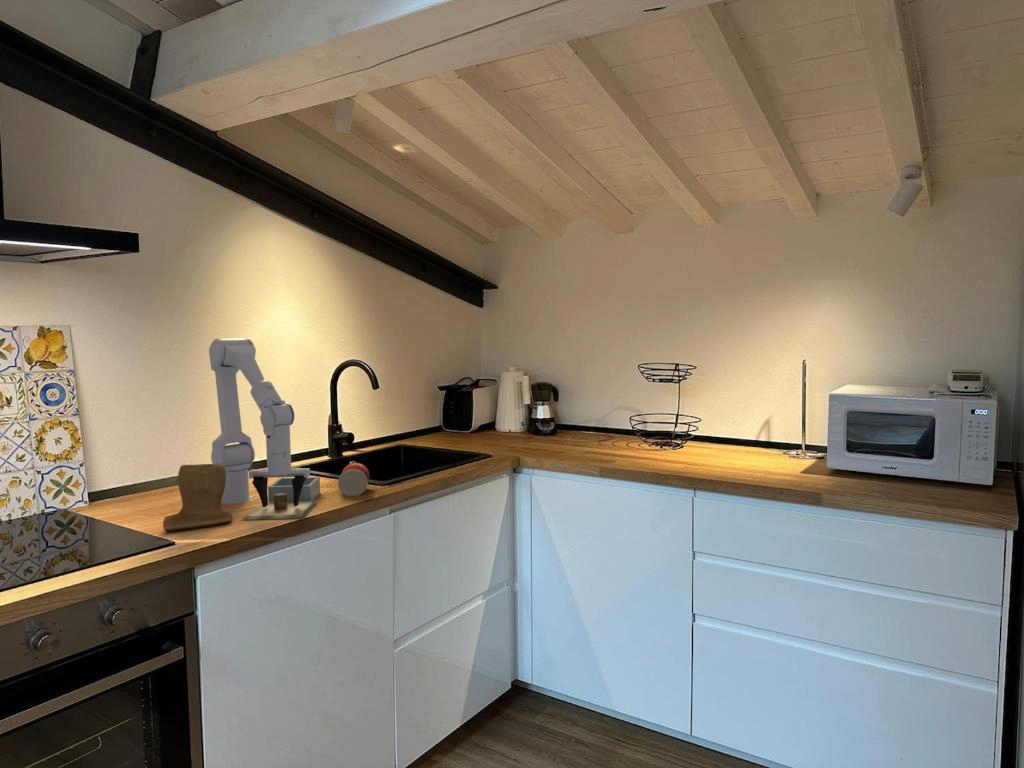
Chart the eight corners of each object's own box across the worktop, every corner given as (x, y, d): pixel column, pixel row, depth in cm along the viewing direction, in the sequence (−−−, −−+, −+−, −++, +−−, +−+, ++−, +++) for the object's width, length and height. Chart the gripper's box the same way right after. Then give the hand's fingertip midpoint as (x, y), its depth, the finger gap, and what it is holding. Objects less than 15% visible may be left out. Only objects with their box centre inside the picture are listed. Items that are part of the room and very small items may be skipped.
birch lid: (246, 519, 166) (245, 501, 165) (262, 505, 179) (261, 489, 178) (300, 517, 166) (300, 500, 166) (313, 504, 179) (312, 488, 179)
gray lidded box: (268, 505, 181) (268, 486, 180) (280, 495, 192) (279, 477, 191) (311, 504, 181) (310, 485, 181) (320, 494, 192) (319, 477, 192)
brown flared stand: (227, 515, 172) (225, 456, 170) (235, 526, 161) (233, 463, 160) (159, 524, 164) (156, 462, 163) (164, 537, 154) (160, 471, 152)
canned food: (336, 471, 198) (332, 480, 188) (360, 456, 199) (357, 464, 188) (351, 493, 200) (347, 502, 189) (374, 478, 200) (372, 487, 189)
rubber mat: (240, 522, 165) (240, 520, 165) (259, 506, 180) (259, 504, 180) (304, 520, 166) (303, 518, 166) (317, 505, 180) (317, 503, 180)
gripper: (243, 455, 167) (246, 510, 168) (304, 454, 168) (306, 509, 169) (253, 450, 174) (255, 503, 175) (311, 449, 175) (312, 501, 176)
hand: (280, 505), depth 172 cm, fingers open, 7 cm apart
